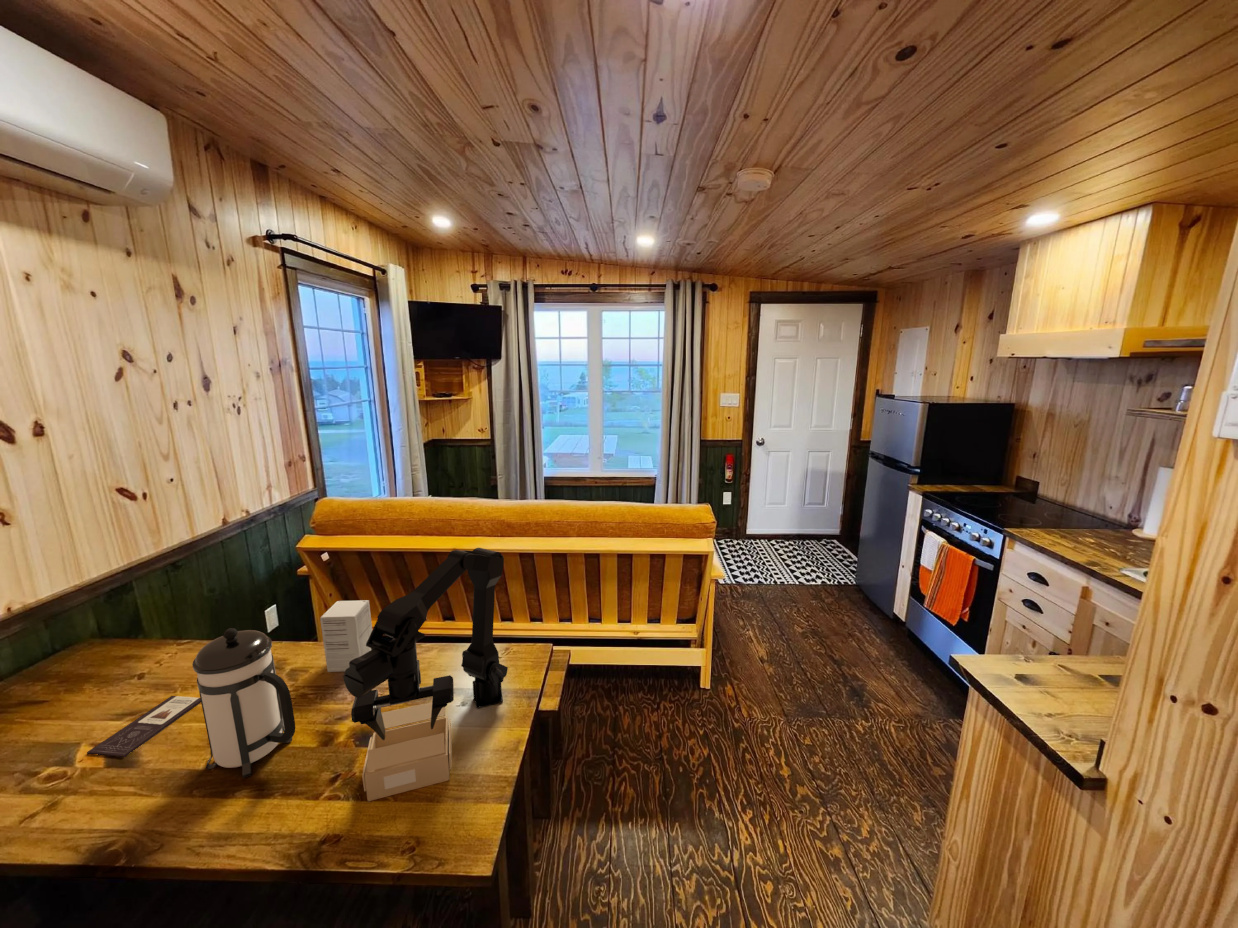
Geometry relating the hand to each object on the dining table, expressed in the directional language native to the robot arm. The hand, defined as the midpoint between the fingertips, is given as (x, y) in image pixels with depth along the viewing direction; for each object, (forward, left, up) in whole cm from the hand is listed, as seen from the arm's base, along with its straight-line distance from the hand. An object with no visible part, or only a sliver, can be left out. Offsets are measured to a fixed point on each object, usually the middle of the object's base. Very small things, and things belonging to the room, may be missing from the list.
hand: (408, 732), depth 98 cm
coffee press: (+32, -14, -8) cm, 36 cm away
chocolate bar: (+59, -32, -9) cm, 68 cm away
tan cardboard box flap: (0, -7, -1) cm, 7 cm away
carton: (0, +1, -8) cm, 8 cm away
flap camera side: (0, +5, 0) cm, 5 cm away
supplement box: (+19, -44, -8) cm, 49 cm away
